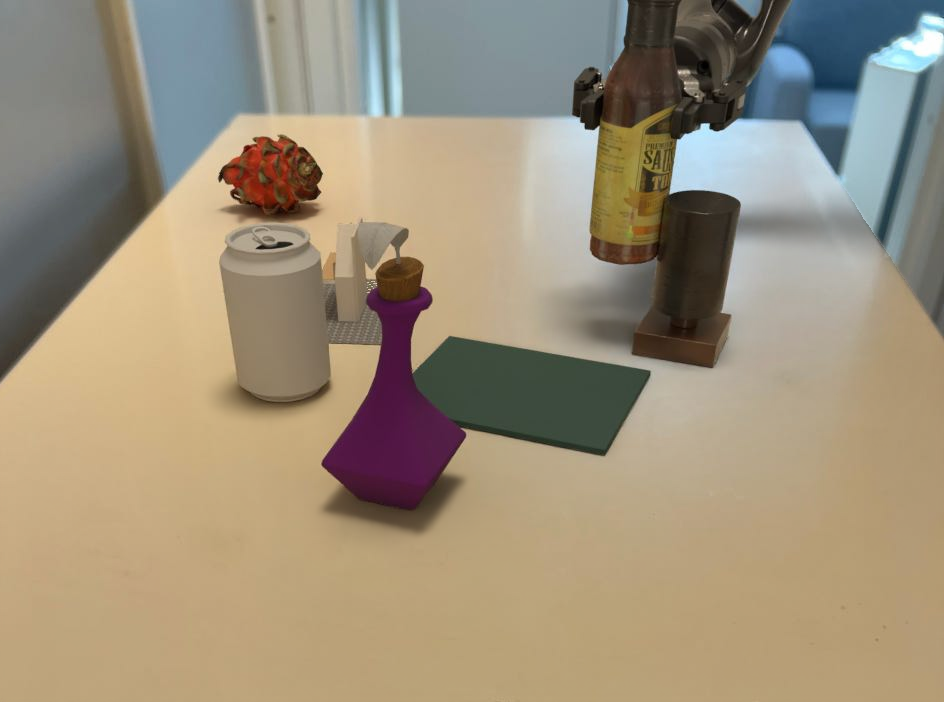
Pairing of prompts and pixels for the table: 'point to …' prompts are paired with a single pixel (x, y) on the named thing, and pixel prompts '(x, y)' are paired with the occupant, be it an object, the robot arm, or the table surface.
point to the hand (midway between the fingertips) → (632, 120)
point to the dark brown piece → (690, 279)
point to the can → (276, 311)
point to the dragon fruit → (273, 175)
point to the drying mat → (530, 393)
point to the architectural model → (349, 292)
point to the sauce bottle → (636, 138)
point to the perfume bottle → (394, 392)
